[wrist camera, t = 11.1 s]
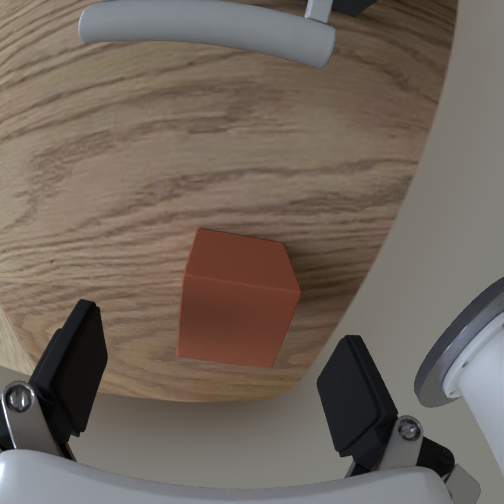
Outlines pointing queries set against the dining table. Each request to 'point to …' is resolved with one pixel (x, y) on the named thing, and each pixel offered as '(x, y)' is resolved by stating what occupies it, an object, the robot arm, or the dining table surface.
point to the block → (235, 299)
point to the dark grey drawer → (221, 25)
